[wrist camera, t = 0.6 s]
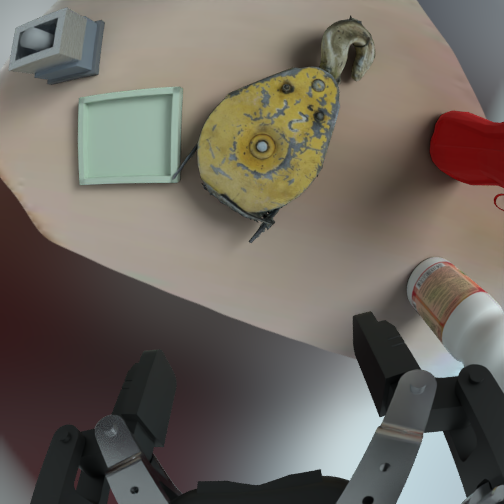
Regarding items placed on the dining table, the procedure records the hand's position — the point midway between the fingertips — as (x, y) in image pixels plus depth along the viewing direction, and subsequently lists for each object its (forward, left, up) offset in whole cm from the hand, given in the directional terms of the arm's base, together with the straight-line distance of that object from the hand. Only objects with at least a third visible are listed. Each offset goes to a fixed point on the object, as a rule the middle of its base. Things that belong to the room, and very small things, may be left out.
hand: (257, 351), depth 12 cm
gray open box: (-21, -25, -23) cm, 39 cm away
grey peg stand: (-21, -25, -28) cm, 42 cm away
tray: (-8, -16, -28) cm, 33 cm away
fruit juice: (+11, +29, -28) cm, 42 cm away
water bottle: (-10, +28, -28) cm, 41 cm away
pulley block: (-11, +4, -28) cm, 30 cm away
